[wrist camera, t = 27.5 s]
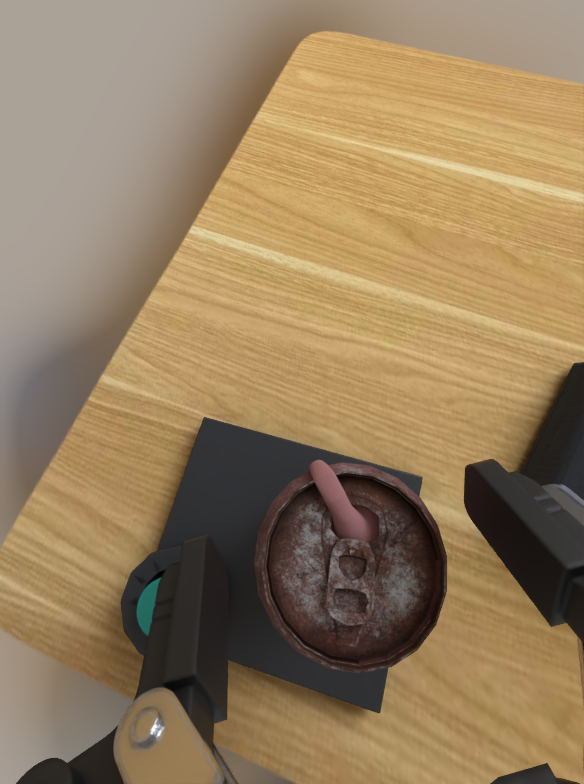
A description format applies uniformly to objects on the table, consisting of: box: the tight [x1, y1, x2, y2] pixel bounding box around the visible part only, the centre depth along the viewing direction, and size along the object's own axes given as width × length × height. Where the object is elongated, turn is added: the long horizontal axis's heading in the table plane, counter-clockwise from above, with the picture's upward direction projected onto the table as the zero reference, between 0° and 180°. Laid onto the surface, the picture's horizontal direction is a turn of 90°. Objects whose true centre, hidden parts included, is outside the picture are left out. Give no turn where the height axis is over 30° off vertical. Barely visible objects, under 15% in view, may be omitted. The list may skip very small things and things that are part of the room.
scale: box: [121, 417, 422, 713], centre depth 24 cm, size 16×14×3 cm
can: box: [254, 460, 447, 673], centre depth 17 cm, size 6×6×14 cm
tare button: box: [137, 577, 162, 636], centre depth 21 cm, size 3×3×2 cm
